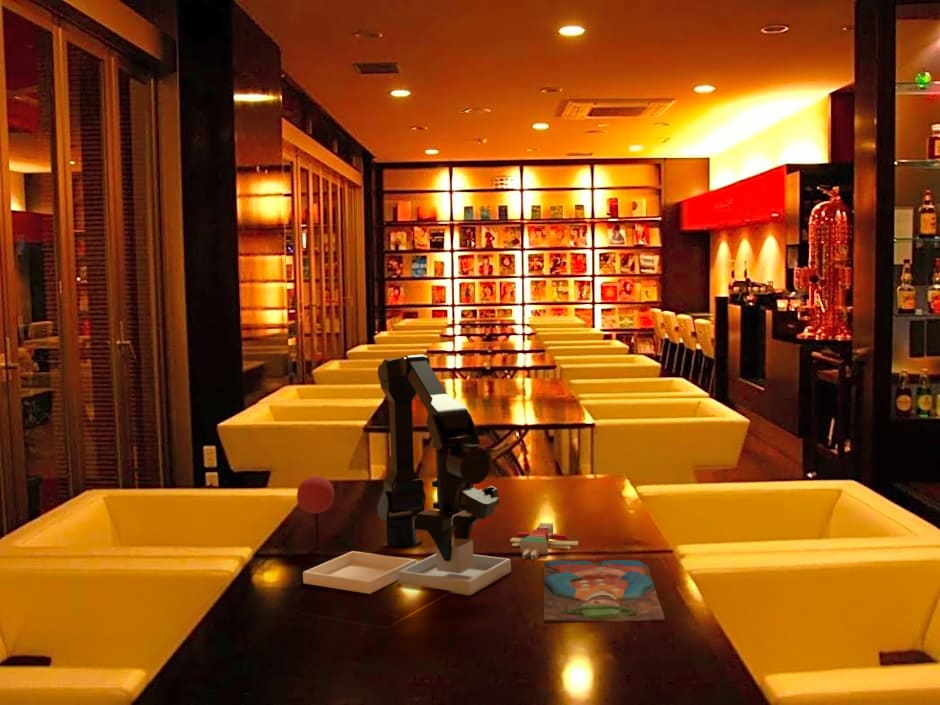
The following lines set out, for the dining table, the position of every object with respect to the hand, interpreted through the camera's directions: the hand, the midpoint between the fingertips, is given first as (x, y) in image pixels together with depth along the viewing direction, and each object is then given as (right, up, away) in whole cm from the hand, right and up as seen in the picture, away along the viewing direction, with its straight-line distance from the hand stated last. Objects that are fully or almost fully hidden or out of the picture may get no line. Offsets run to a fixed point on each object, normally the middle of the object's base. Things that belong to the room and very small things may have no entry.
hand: (454, 557), depth 190 cm
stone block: (0, -2, 0) cm, 2 cm away
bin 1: (-18, -5, +2) cm, 18 cm away
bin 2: (0, -4, 0) cm, 4 cm away
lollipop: (-29, -3, +26) cm, 39 cm away
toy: (+17, -3, +18) cm, 24 cm away
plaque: (+26, -5, -11) cm, 28 cm away
